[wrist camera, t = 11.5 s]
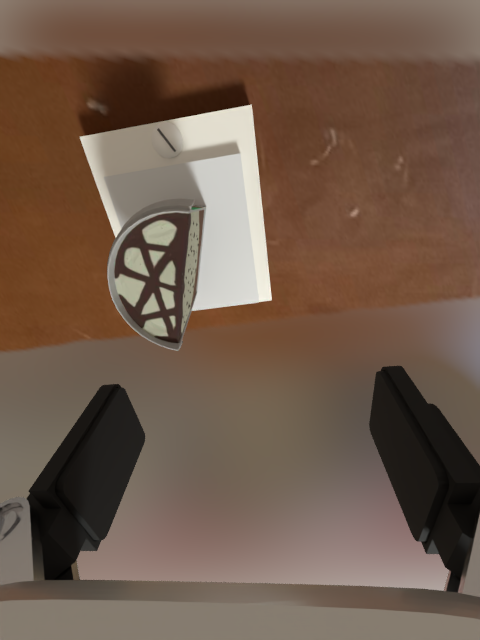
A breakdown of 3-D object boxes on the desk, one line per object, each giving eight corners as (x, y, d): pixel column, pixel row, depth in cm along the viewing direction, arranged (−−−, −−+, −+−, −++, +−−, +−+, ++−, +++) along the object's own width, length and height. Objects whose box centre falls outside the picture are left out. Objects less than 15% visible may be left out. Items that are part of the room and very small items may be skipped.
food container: (143, 177, 26) (91, 185, 18) (208, 190, 27) (189, 203, 18) (142, 295, 32) (104, 345, 24) (196, 304, 33) (177, 355, 24)
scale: (251, 109, 27) (251, 101, 23) (270, 292, 36) (272, 304, 33) (91, 138, 28) (72, 135, 25) (149, 307, 37) (140, 320, 34)
